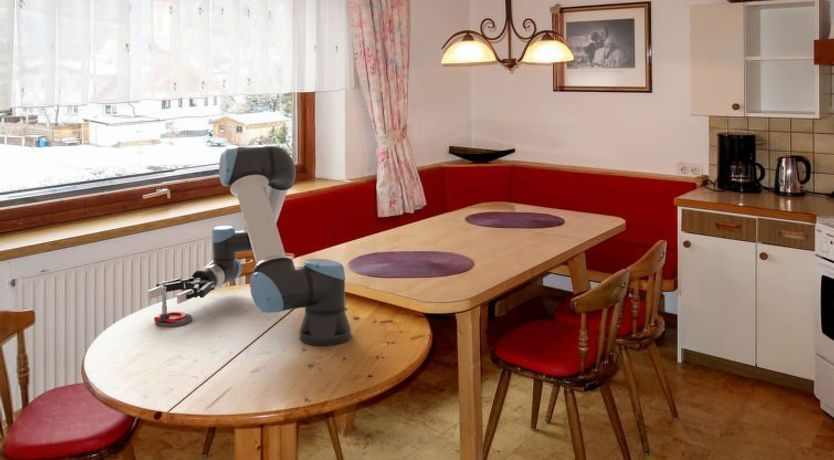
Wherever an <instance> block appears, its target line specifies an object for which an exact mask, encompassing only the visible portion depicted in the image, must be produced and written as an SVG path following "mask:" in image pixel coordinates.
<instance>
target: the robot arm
mask: <svg viewBox="0 0 834 460" xmlns="http://www.w3.org/2000/svg"><path fill="white" fill-rule="evenodd" d="M218 165H219V166H218V168H219V169H218V171H219V172H218V173H219V181H220V184H221V185H222V186H224V187H228V188H229V190H230V193H231V194H232V195H233V196H235V197H237V200H238V203H239V208H240V211H241V214H242V217H243V221H244V225H245V229H242V230H235V227H234V226H231V225H218V226H215V227H213V228H212V230H211V244H212V245H211V246H212V247H211V248H212V264H210V265H208V266H206V267H203V268H200V269H198V270H195V272H193V274H192V275H191V276H190V277H187V278H183V277H182V276H179V277H176V278H173V279H169V280H164V281H165V288H166V293H168V292H175V291H183V292H180V293H178V294H176V304H178V305H179V304H182V303H185V302H187V301H188V300H191V299H193V298H195V299H197V298H198V297H199V298H201V299H203V298H204V297H205V296H207V295H208V294H209V293H210V292H211V291H214V290H215V288H217V287H220V286H222V285H224V284H226V283H229V282H232V281H234V280H235V279H237V278H239V277H240V276H241V274H242V271H243V267H242V264H241V262H240V260H238V259H237V258H236V255H237V254H238V253H246V252H252V253H253V257H254V261H255V264H256V265H255V266H254V267H253V270H252V274H251V276H250V278H249V287H250V289H249V290H250V294H251V298H252V300H253V302H254V304H255V306H256V307H257V308H258V310H260V311H261V312H263V313H266V314H269V313H280V312H284V311H288V310H289V311H291V310H296V309H301V308H302V309H303V308H304V314H303V319H302V321H301V324H300V325H301V326H300V328H299V339H300V341H301V342H303V343H305V344H308V345H313V346H327V347H328V346H335V345H339V344H344V343H345V342H347V341H349V340H350V339H351V337H352V328H351V324H350V322H349V320H348V319H349V318H348V316H347V314H346V275H345V273H346V272H345V267H344V266H343V264H342V263H341V262H338V261H336V260H333V259H328V258H327V259H326V258H307V259H305V260H304V261H303V266H297V267H295V263H294V261H293V259H292V258H291V257H289V256H287V255H286V253H285V249H284V245H283V242H282V239H281V236H280V232H279V229H278V226H277V222H278V219H279V217H280V214H281V211H282V207H283V204H284V202H285V201H286V200H285V199H286V197H287V193H288V190H290V189H292V187H293V186H294V184H295V180H296V176H297V169H296V168H297V167H296V165H295V162H294V160H293V158H292V156H291V155H290V153H288V152H287V151H286V150H285V149H284V148H282V147H280V146H278V145H274V144H262V145H260V144H258V145H244V146H243V145H242V146H239V145H235V146H227V147H225V148H224V149H223V150H222V151H221V153H220V157H219V163H218ZM162 282H163V281H161V282H157V283H156V284H155V286H156V287H154V288H151V289H148V290H147V299H148V300H152V299H155V298H157V297H159V296H162V288H163V285H162Z"/></svg>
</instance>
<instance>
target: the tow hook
mask: <svg viewBox="0 0 834 460" xmlns="http://www.w3.org/2000/svg"><path fill="white" fill-rule="evenodd" d="M165 281H166V280H164V281H163V280H162V281H161V282H162V285H163V288H162V295H161V301H162V303H161V304H162V305H161V313H159V314H158V316H154V318H153V320H154V322H155V321H159V322H165V323H175V321H178V320H182V319H185V318H186V317H187V314H188V313H186V312H184V311H177V310H176V311H174V310H173V311H168V305H167V292H166V288H165ZM169 315H180V316H179V317H173V318H169Z"/></svg>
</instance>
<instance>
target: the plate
mask: <svg viewBox="0 0 834 460" xmlns="http://www.w3.org/2000/svg"><path fill="white" fill-rule="evenodd" d="M186 314H187V317H186V318H185V319H182V320H178V321H175V323H165V322H159V321H154V322H155V323H154V324H155V325H156V326H159V327H160V328H161V327H162V328H163V327H164V328H176V327H181V326H186V325H188V324H190V323H192V321H193V316H192V315H191V314H189V313H186ZM179 316H180V315H169V318H173V317H179Z"/></svg>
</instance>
